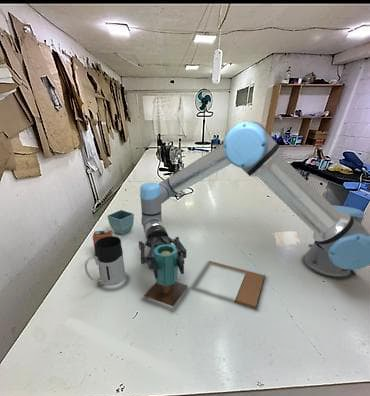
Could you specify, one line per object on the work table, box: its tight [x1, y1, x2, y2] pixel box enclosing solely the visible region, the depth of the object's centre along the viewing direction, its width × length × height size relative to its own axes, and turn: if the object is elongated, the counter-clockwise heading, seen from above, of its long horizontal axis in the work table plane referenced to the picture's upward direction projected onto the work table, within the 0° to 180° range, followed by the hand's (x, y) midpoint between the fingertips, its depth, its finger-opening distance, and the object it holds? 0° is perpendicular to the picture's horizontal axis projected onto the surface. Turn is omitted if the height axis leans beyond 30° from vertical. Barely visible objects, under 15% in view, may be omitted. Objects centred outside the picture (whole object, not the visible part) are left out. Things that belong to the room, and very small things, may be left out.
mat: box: [208, 260, 265, 310], centre depth 78 cm, size 20×16×1 cm
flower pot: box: [106, 209, 135, 236], centre depth 110 cm, size 9×9×9 cm
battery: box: [92, 229, 114, 257], centre depth 93 cm, size 4×7×10 cm, turn 100°
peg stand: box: [143, 251, 189, 308], centre depth 70 cm, size 10×10×15 cm
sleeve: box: [154, 244, 179, 286], centre depth 69 cm, size 6×6×10 cm
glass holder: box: [84, 235, 126, 286], centre depth 73 cm, size 9×14×15 cm, turn 155°
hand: (169, 271), depth 64 cm, fingers closed on sleeve, 6 cm apart
